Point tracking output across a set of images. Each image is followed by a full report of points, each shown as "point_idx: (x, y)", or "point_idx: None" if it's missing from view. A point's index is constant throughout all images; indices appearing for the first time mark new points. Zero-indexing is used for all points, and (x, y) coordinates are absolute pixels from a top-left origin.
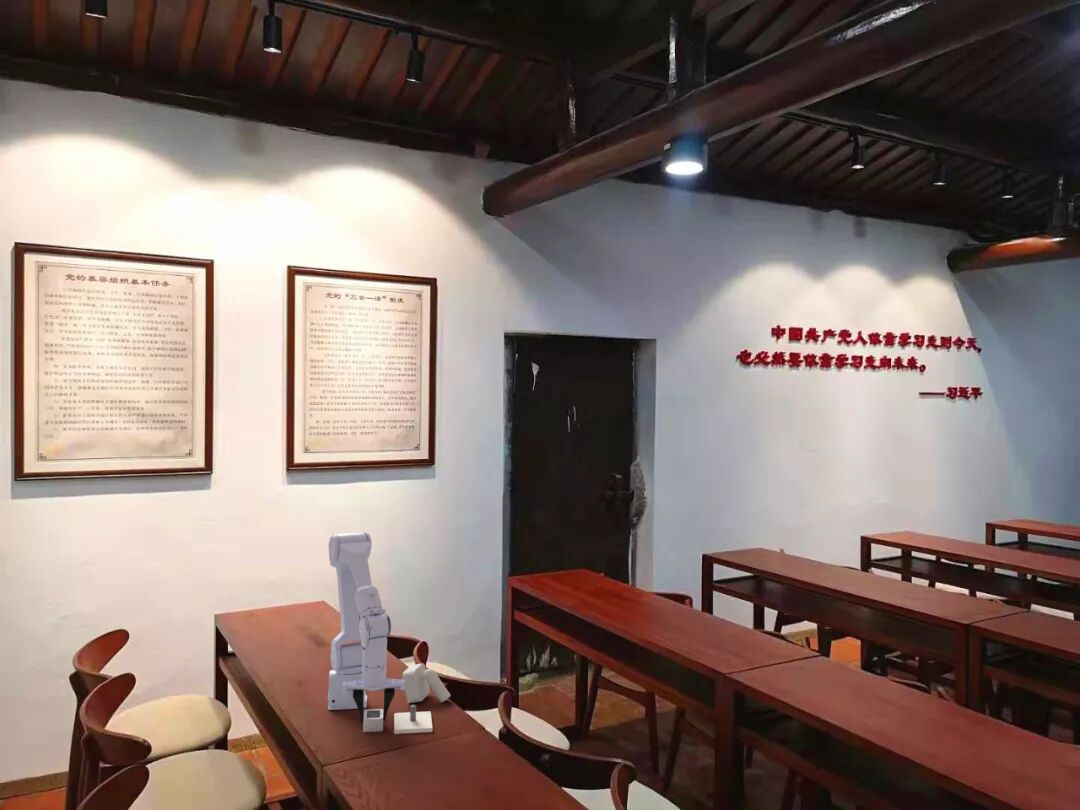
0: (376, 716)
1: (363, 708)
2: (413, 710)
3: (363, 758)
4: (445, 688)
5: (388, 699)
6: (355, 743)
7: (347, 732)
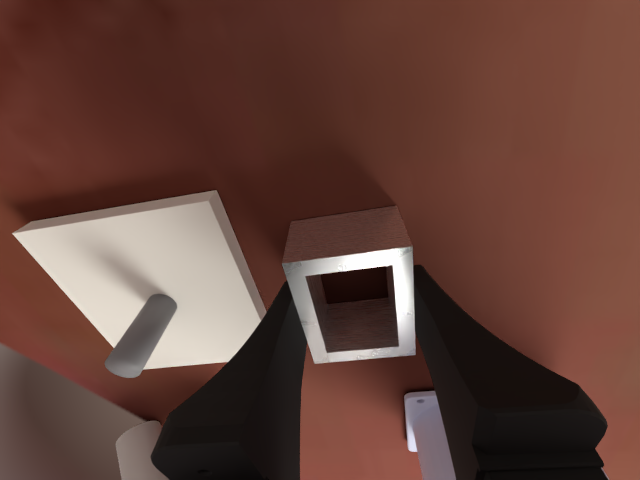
0: (345, 324)
1: (425, 342)
2: (124, 340)
3: None
4: (121, 477)
5: (222, 393)
6: (436, 27)
7: (487, 198)
